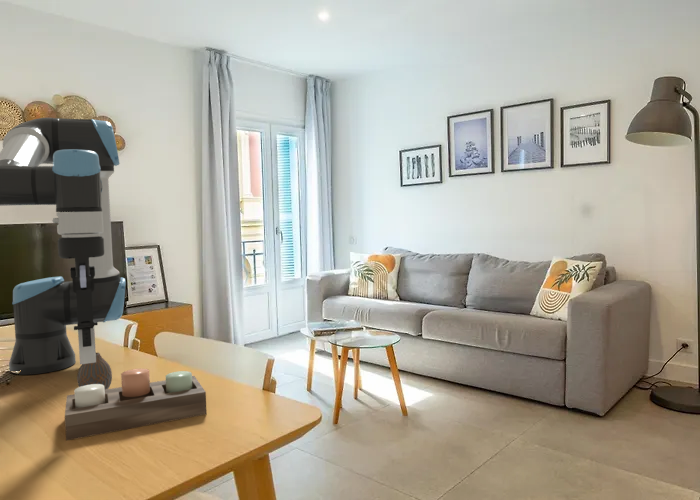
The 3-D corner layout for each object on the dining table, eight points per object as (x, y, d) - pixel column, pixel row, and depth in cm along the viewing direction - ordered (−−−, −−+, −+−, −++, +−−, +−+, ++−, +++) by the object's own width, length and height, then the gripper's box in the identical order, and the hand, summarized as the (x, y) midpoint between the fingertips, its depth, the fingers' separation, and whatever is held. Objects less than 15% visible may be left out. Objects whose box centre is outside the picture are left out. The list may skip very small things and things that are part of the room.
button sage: (164, 392, 106) (163, 373, 106) (190, 388, 108) (189, 369, 108) (168, 400, 102) (167, 380, 101) (194, 395, 104) (193, 376, 104)
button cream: (75, 407, 99) (74, 386, 99) (105, 402, 101) (103, 382, 101) (75, 416, 94) (74, 394, 94) (105, 411, 97) (104, 389, 96)
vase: (99, 398, 112) (96, 358, 112) (71, 397, 114) (68, 357, 113) (119, 388, 119) (117, 350, 118) (92, 387, 120) (90, 349, 120)
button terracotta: (121, 391, 102) (120, 371, 102) (148, 386, 105) (147, 367, 104) (123, 398, 98) (121, 377, 98) (151, 394, 100) (150, 373, 100)
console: (68, 417, 102) (66, 395, 101) (195, 396, 112) (194, 375, 112) (66, 440, 91) (64, 415, 91) (206, 414, 102) (205, 391, 101)
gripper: (59, 235, 100) (66, 357, 102) (55, 237, 88) (63, 374, 90) (102, 234, 103) (108, 351, 105) (104, 236, 92) (111, 368, 93)
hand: (88, 362), depth 97 cm, fingers closed
